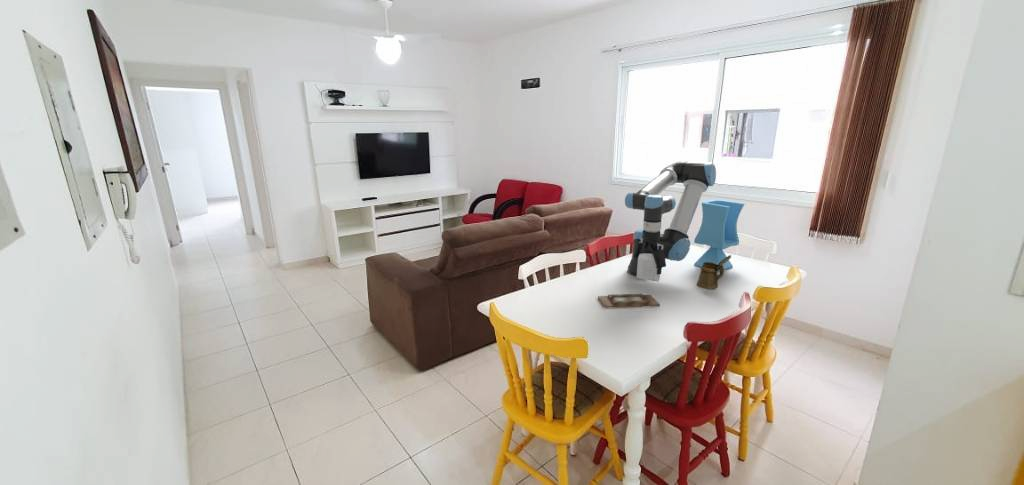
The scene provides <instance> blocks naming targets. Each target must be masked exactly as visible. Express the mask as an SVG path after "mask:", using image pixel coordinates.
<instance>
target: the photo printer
mask: <svg viewBox="0 0 1024 485" xmlns="http://www.w3.org/2000/svg"><path fill="white" fill-rule="evenodd" d="M655 267H657V266H656V263H655V260H654V257H653V254H650V253H643V254H640V255H639V257H638V265H637V276H636V278H637V279H639V280H645V281H651V282H657V283H658V282H659V281H660V280H658V281H654V275H655Z"/></svg>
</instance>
